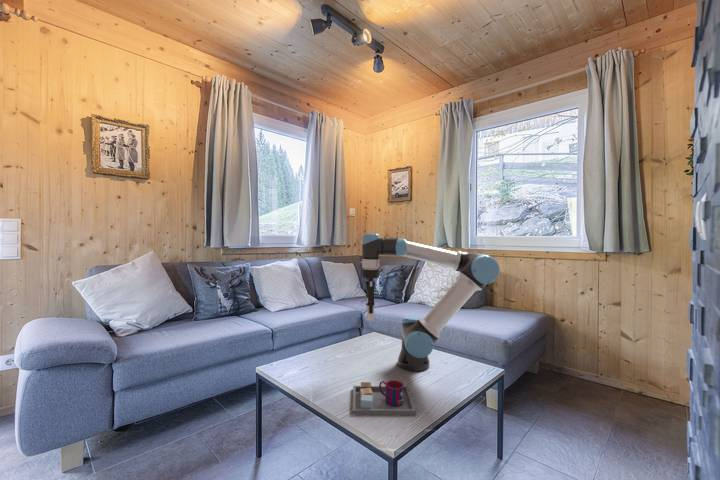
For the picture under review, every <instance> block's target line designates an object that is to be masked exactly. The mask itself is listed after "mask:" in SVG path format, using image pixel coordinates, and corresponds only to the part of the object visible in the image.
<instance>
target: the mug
mask: <svg viewBox="0 0 720 480" xmlns="http://www.w3.org/2000/svg"><path fill="white" fill-rule="evenodd" d="M382 384H384V386H386V394H385V393H384V392H383V391H382V389H381V386H382ZM378 386H379V389H380V392H381V393H382V394H383V395H384V396H385V397H386V399H385V401H386V403H387V404H388V405H390V406H393V407H398V406H401V405H402V404H403V398H404V386H405V385H404V383H403V382H402V381H400V380H397V379H392V380H391V379H390V380H387V381H384V380H382V381H381V382H380V383H379V384H378Z"/></svg>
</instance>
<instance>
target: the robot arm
mask: <svg viewBox="0 0 720 480" xmlns="http://www.w3.org/2000/svg"><path fill="white" fill-rule="evenodd" d="M380 236H381V235H380V234H379V233H365V234H363V235H362V243H361V244H362V245H361V249H362V250H361V251H362V253H361V254H362V255H361V258H362V259H361V261H360V264H361V265H362V266H361V267H362V269H361V277H362V278H364V279H366V281H365V289H366V294H365V295H366V304H365V305H366V307H365V308H366V311H365V312H366V313H367V315H366V316H367V320H366V321H367V322H368V321H369V322H370V321H371V322H372V321H373V322H375V290H376V289H375V287H376V282H375V281H374V279H378V278H379V277H380V269H379V268H380V256H397V257H400V256H402V257H406V258H410V259H414V260H418V261H422V262H426V263H431V264H434V265H440V266H443V267H446V268H451V269H452V270H453V271H455V272H459V278H458V279H457V280H456V281H455V282H454V284H453V285H452V286H451V287H450V288H448V291H447V292H446V293H445V294H444V295H443V296H442V297H441V299H440V300H438V302H437V303H436V304H435V305H434V307H433V308H431V310H430V311H429V312H428V313H427V314H426V316H425V317H421V316H404V317H402V320H401V349H400V351H399V354H398V358H397V365H398V366H399V368H400V369H403V370H406V371H411V372H422V371H425V370H426V371H427V370H428V369H429V368H430V358H429V356H430V354H432V352H433V350H434V344H435V343H436V342H437V341H438V340H439V339H440V332H441V331H442V330H443V329H444V327H446V325H447V324H448V323H449V322H450V321H451V320H452V318H453V317H454V316H455V315H456V314H457V313H458V311H459V310H460V309H461V308H462V307H463V306H464V305H465V304H466V303H467V301H468V300H469V299H470V298H471V297H472V296H473V295H474V293H475V292H477V291H482V290H483V289H484V288H485V287H486V286H487V285H488V284H492V283H494V282H495V281H496V280H497V279H498V278H499V275H500V270H501V269H500V265H499V263H498V261H497V259H495V258H494V257H492V256H491V255H488V254H486V253H485V254H484V253H483V254H482V253H479V252H469V251H468V252H466V251H462V250H458V251H451V250H449V249H448V250H447V249H443V248H439V247H433V246H430V245H426V244H421V243H417V242H414V241H410V240H409V241H408V240H407V239H406V238H400V237H399V238H398V237H393V236H392V237H389V238H385V237H384V238H383V237H380Z"/></svg>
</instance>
